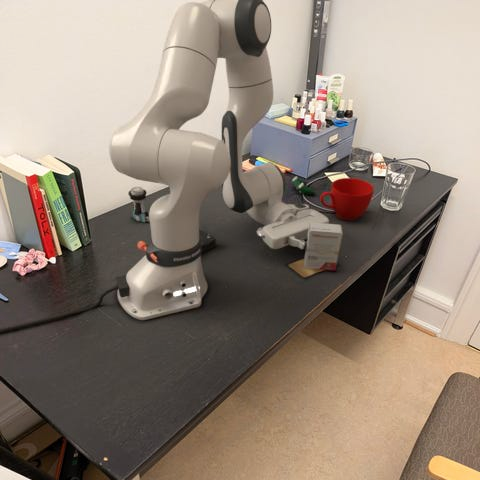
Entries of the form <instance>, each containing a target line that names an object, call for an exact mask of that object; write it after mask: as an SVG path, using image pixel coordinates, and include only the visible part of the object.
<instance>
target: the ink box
mask: <svg viewBox="0 0 480 480" xmlns="http://www.w3.org/2000/svg"><path fill="white" fill-rule="evenodd" d="M343 235H344V233H343V227H342V224H335V223H329V224H325V223H312V222H310V223H309V229H308V236H307V238H306V242H307V247H306V248H305V250H304V257H303V259H304V268H309V269H322V270H323V271H336V268H337V265H338V258H339V254H340V248H341V245H342V244H341V243H342V239H343ZM336 264H337V265H336Z"/></svg>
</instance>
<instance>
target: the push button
mask: <svg viewBox="0 0 480 480" xmlns="http://www.w3.org/2000/svg"><path fill="white" fill-rule="evenodd" d="M147 193H148V192H147V190H145V189H144V188H143V187H141V186H134V187H131V188H130V190H129V191H128V196H129V198H130V200H132V202H133V207H134V208H133V210H132V217H133V219H134V220H136V221H137V222H142V223H146V222H149V223H150V219H149V212H148V211H146V208H145V199H146V198H147Z"/></svg>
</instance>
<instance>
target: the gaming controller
mask: <svg viewBox="0 0 480 480" xmlns="http://www.w3.org/2000/svg"><path fill="white" fill-rule="evenodd" d="M291 183H292V184H293V185H294V186H295V189H296V190H298V192H299V193H300V194H304V195H308V196H315V190H314V189H313V188H312V187H308V186H306V185H307V182H306V181H305V180H303V179H300V178H299V177H298V176H297V175H296V176H295V177H294V178H293V179H291Z"/></svg>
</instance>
